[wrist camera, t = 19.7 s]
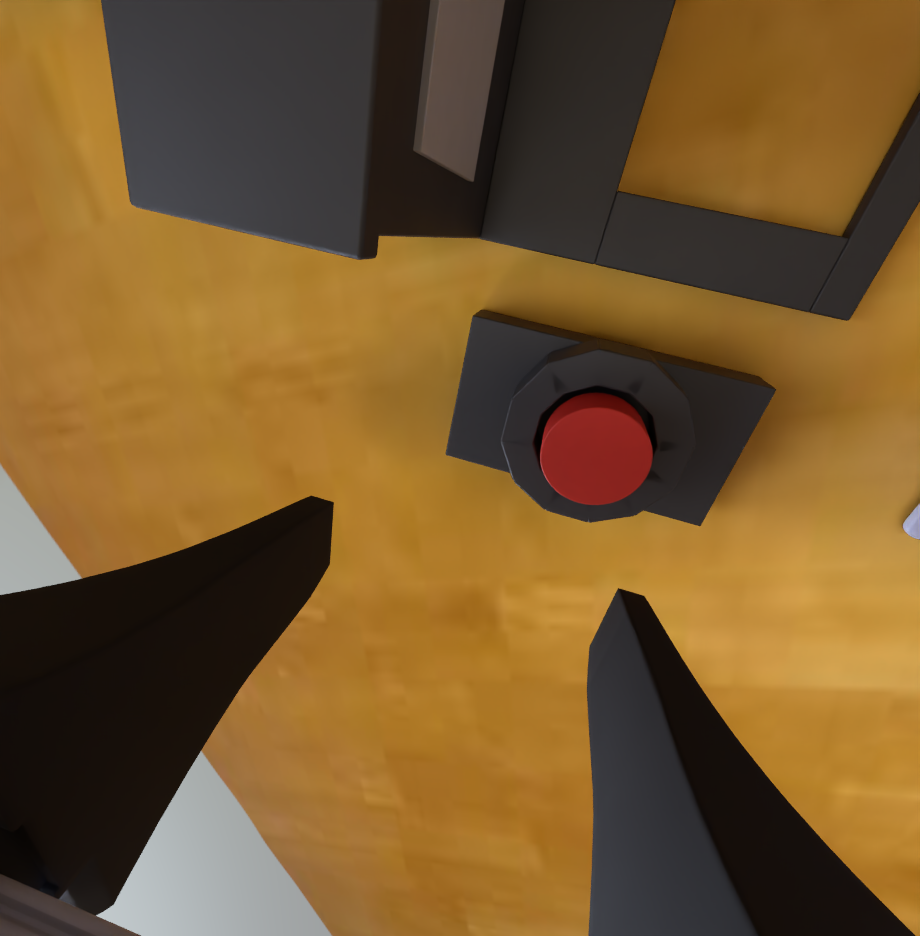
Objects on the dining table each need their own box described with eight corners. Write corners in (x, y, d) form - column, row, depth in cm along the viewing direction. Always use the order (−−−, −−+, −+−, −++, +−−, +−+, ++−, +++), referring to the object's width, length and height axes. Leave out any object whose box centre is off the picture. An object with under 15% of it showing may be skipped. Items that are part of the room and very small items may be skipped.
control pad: (763, 370, 17) (804, 398, 14) (688, 510, 20) (709, 558, 17) (482, 302, 18) (463, 315, 15) (453, 444, 21) (433, 478, 18)
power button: (662, 407, 15) (671, 424, 14) (624, 494, 17) (628, 517, 16) (559, 380, 16) (557, 394, 14) (531, 468, 18) (528, 489, 16)
